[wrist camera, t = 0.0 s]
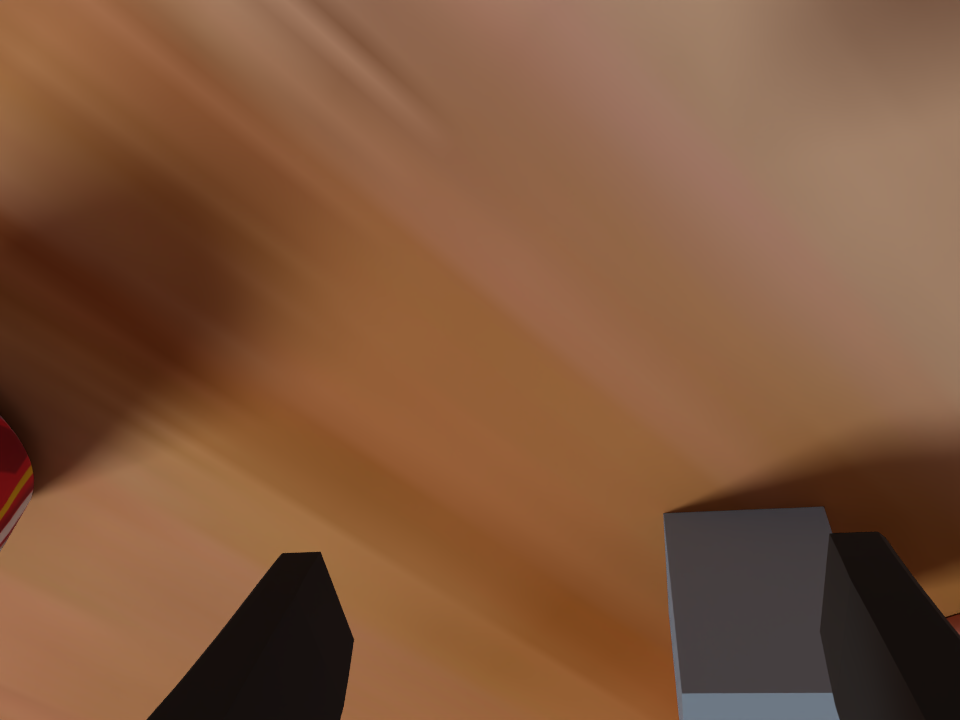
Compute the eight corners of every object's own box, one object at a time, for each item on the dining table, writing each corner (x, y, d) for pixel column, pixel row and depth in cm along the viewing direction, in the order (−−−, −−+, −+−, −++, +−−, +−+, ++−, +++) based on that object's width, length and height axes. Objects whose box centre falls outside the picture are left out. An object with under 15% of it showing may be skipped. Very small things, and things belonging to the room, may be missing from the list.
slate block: (814, 608, 27) (865, 797, 22) (668, 611, 28) (686, 794, 23) (823, 505, 24) (883, 692, 19) (663, 512, 25) (681, 693, 20)
